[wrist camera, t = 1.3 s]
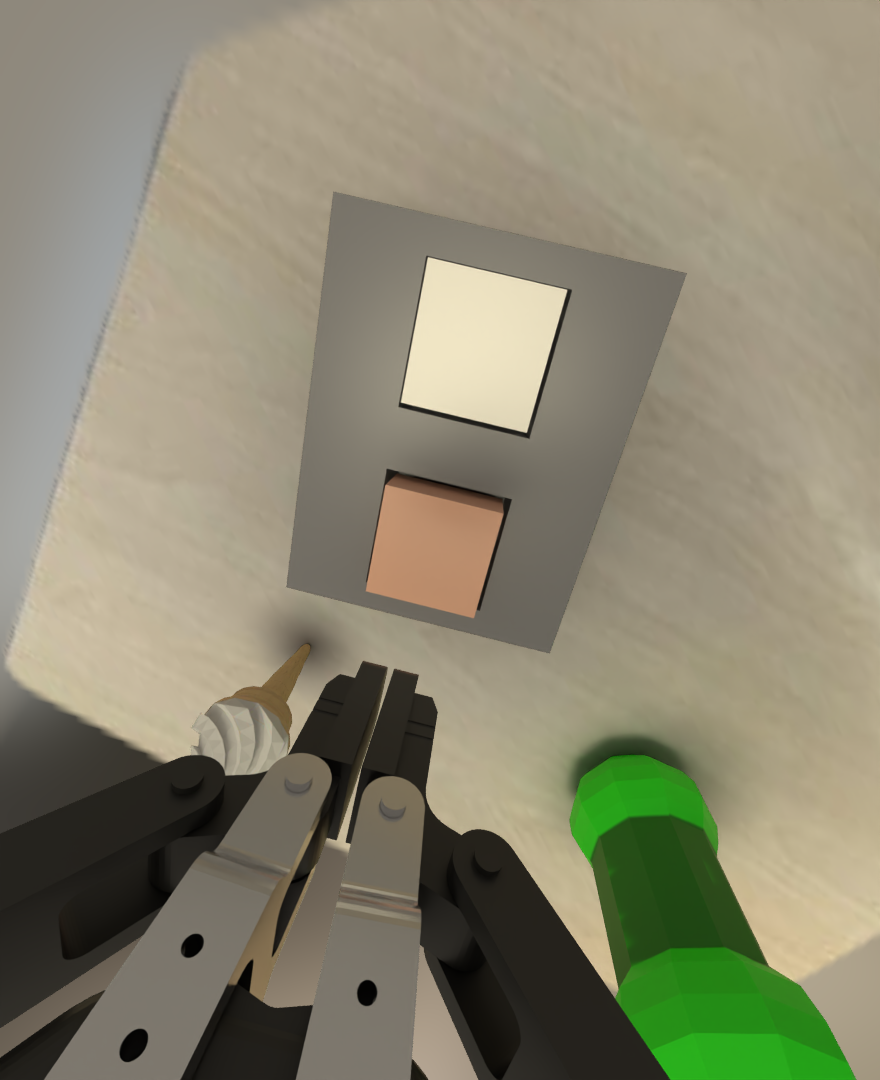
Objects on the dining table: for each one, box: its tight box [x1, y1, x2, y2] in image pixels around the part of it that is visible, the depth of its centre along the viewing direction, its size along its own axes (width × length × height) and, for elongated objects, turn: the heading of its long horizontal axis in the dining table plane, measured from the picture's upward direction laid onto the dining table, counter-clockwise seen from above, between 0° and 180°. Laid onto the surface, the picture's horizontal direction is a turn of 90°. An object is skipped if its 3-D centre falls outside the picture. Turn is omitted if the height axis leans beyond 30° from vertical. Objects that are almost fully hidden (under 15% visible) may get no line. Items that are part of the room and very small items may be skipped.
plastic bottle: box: [570, 754, 856, 1080], centre depth 25 cm, size 10×10×25 cm
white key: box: [401, 257, 567, 433], centre depth 22 cm, size 6×6×3 cm
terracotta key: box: [366, 474, 504, 618], centre depth 25 cm, size 6×6×3 cm
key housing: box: [286, 192, 687, 653], centre depth 26 cm, size 16×20×6 cm
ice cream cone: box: [191, 644, 310, 775], centre depth 28 cm, size 6×6×15 cm
